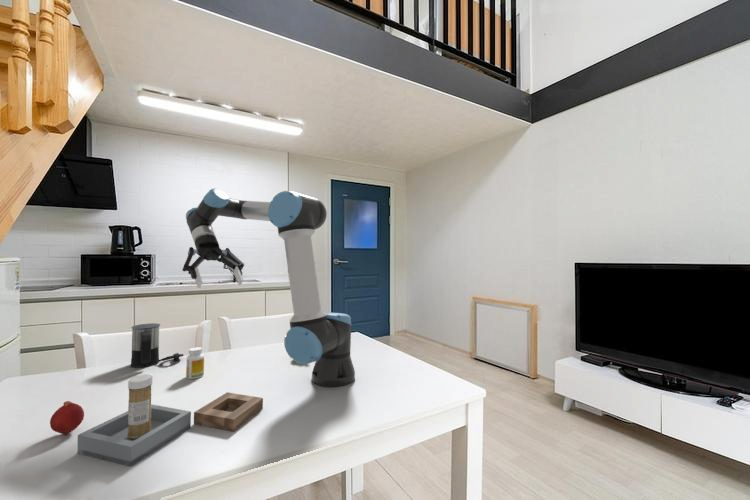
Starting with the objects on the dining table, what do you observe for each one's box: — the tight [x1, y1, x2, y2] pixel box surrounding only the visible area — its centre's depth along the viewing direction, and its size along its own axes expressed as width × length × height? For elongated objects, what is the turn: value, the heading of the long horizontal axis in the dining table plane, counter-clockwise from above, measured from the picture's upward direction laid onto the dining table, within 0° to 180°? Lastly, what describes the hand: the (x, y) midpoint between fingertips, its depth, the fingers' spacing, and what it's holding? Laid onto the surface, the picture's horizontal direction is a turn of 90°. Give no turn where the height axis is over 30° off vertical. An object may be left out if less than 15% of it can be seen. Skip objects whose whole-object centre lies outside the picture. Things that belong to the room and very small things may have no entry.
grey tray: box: [76, 403, 192, 467], centre depth 74 cm, size 15×15×4 cm
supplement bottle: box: [185, 346, 205, 380], centre depth 111 cm, size 5×5×10 cm
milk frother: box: [129, 322, 184, 368], centre depth 123 cm, size 14×16×15 cm
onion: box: [49, 400, 85, 436], centre depth 75 cm, size 6×6×8 cm
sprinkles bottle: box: [127, 373, 153, 439], centre depth 74 cm, size 5×5×14 cm
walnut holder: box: [193, 392, 264, 432], centre depth 85 cm, size 12×12×3 cm
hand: (221, 283), depth 107 cm, fingers open, 13 cm apart
